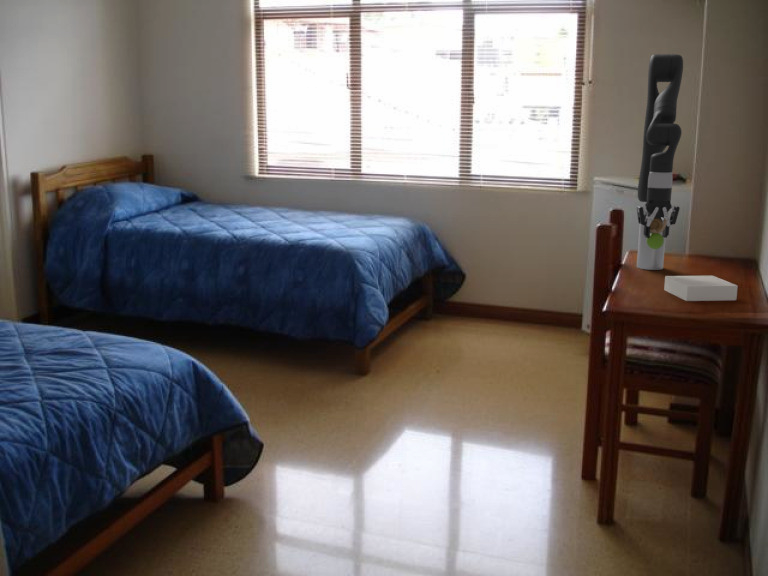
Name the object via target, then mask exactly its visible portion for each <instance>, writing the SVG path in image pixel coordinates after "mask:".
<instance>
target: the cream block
mask: <svg viewBox="0 0 768 576" xmlns="http://www.w3.org/2000/svg"><path fill="white" fill-rule="evenodd" d="M738 287H739V285H737V284H735V283H732V282H729V281H727V280H725V279H722V278H719V277H717V276H715V275H665V277H664V289H663V290H664V291H666V292H667V293H669V294H671V295H674V296H676V297H677V298H679V299H682V300H683V301H685V302H701V301H704V302H705V301H706V302H710V301H713V302H714V301H715V302H717V301H737V298H738V297H737V296H738Z"/></svg>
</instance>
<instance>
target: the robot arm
mask: <svg viewBox="0 0 768 576" xmlns="http://www.w3.org/2000/svg"><path fill="white" fill-rule="evenodd" d="M683 71H684V59H683V56H682V55H680V54H678V53H677V54H676V53H675V54H674V53H671V54H670V53H667V54H666V53H662V54H661V53H657V54H656V53H655V54H652V55H651V57H650V59H649V63H648V70H647V72H648V74H647V97H646V98H647V99H646V110H645V120H644V127H643V136H642V137H643V140H642V158H641V163H640V164H641V165H640V172H639V178H638V185H637V199H638V201H639V202H641V203H645V204H644V205H637V207H636V213H637V221H638V222H637V223H638V224H639V229H638V231H639V232H638V241H637V242H638V244H637V255H636V256H637V257H636V268H638V269H641V270H649V271H656V270H657V271H659V270H663V269H664V260H665V247H666V239H667V238H668V236H669V235H670V227H671V226H673V225H675V224H676V223H677V219H678V216H679V212H680V209H681V208H680V206H678V205H672V204H671V201H672V190H673V169H674V159H675V153H676V151H677V147H678V146H679V142H680V139H681V137H682V128H681V126H680V124H677V123H675V122H676V120H677V107H678V106H677V104H678V98H679V93H680V89H681V84H682V77H683ZM658 83H669V84H668V85H667V86H666V87H665V89H663V90H662V91H661V93H660V92H659V89H658ZM667 147H668V148H667ZM666 148H667V149H666ZM665 149H666V150H665ZM669 211H670V212H671V213H670V216H669ZM667 213H668V214H667ZM654 218H658V219H660V220H661V221H662V224H663V222H664V218H665V220H667V224H666V227H665V229H664V230H663V231H662V232H660V233H659V234H661V235H662V236H663V238H664V243H663V245H662V247H660V248H659V249H652V248H650V247H649V246H648V245H647V238H649V237H650V234H652V233H650V230H651V229H650V227H649V226H650V224H651V222H652V221H653V219H654Z"/></svg>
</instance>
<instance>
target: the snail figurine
mask: <svg viewBox="0 0 768 576" xmlns="http://www.w3.org/2000/svg"><path fill="white" fill-rule="evenodd" d="M667 214H668V215H669V212H668V213H667ZM666 224H667V220H665V218H664V222H663V224H662V221H661V220H660V219H658V218H654V219H653V221H652V222H651V224H650V226H649V227H650V229H651V230H650V233H652V234H650V237H649V238H647V245H648V246H649V247H650V248H652V249H659V248H660V247H662V245H663V243H664V238H663V236H662V235H661V234H659V233H660V232H662V231H663V230H664V229H665V227H666Z"/></svg>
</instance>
